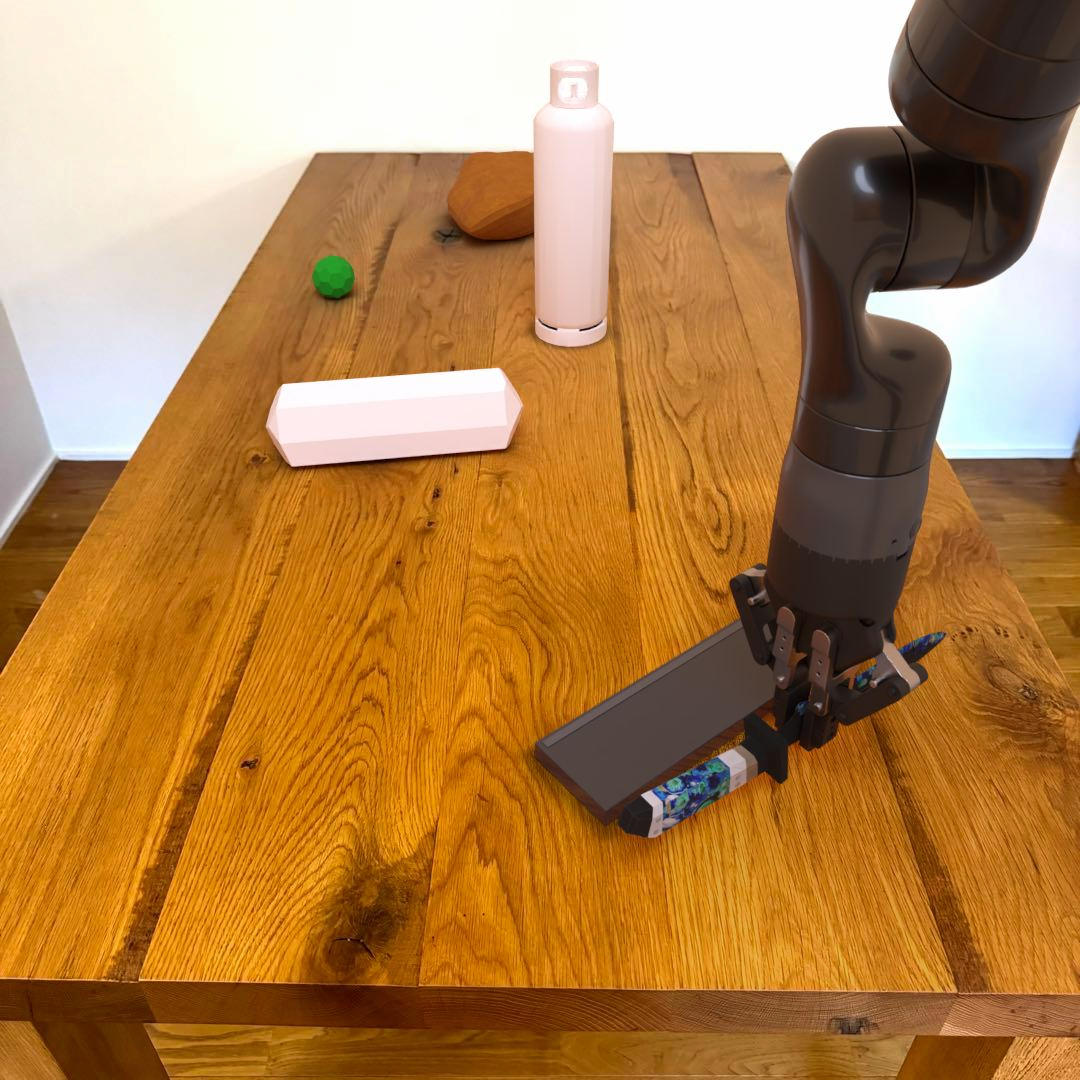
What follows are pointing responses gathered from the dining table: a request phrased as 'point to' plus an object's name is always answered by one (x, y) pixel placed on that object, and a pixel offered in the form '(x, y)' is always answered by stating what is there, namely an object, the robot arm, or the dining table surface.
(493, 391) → the crystal
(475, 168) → the orange brown rock
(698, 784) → the knife
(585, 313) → the bottle
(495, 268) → the dining table surface
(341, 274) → the polyhedron
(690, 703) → the slate board
